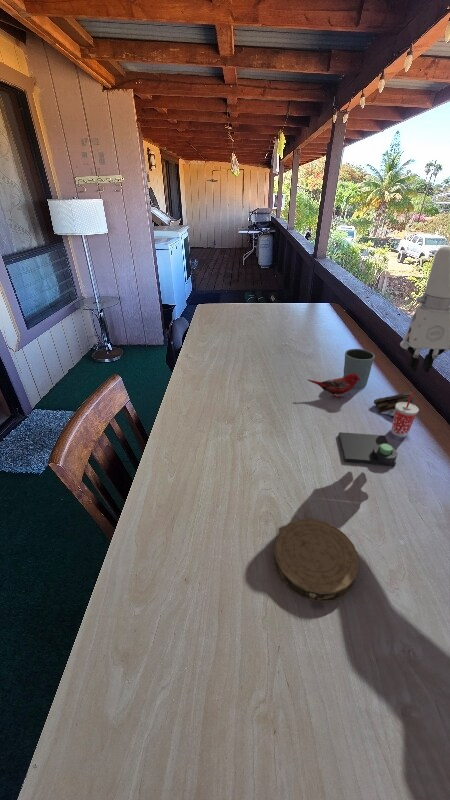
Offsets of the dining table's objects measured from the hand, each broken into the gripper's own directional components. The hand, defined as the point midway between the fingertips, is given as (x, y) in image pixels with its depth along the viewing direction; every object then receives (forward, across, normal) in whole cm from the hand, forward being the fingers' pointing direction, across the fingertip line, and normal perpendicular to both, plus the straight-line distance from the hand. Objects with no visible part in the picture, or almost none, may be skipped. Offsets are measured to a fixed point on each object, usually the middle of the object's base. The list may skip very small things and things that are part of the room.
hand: (418, 369), depth 95 cm
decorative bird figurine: (+21, -18, +19) cm, 34 cm away
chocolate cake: (+21, +1, +11) cm, 24 cm away
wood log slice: (+21, -29, -47) cm, 59 cm away
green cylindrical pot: (+21, -8, +31) cm, 38 cm away
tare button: (+19, -8, -13) cm, 24 cm away
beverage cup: (+21, 0, 0) cm, 21 cm away
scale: (+21, -12, -10) cm, 26 cm away
